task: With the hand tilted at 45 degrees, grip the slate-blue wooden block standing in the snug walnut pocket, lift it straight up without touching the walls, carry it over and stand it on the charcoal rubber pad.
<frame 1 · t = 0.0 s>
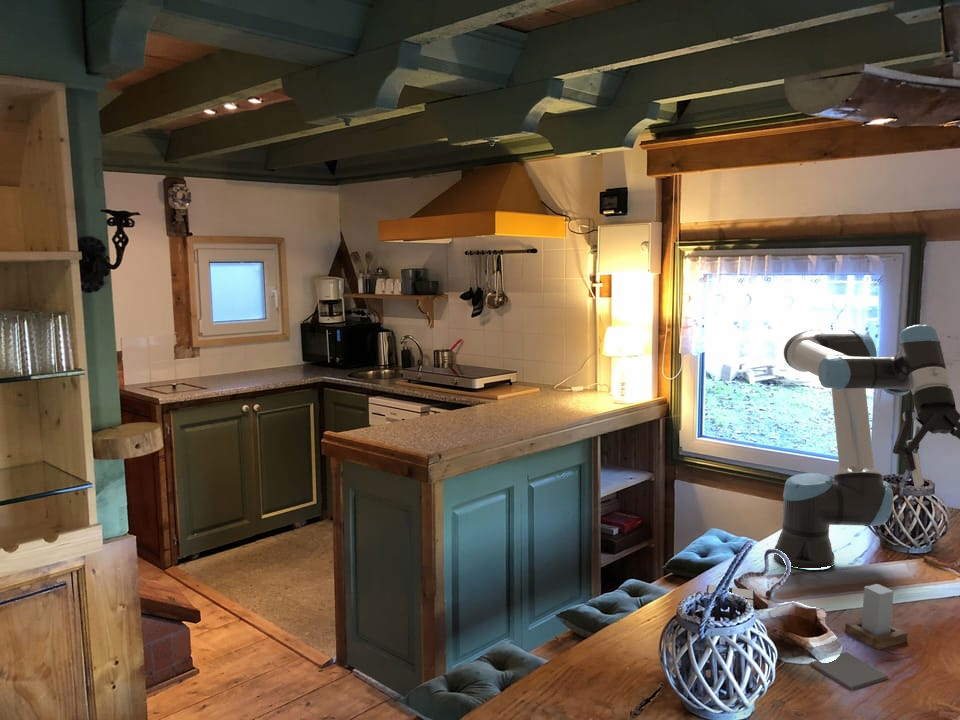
hand: (954, 486, 158), 36 cm above the table, tool tilted 35°, fingers open, 13 cm apart
puzzle cube: (728, 640, 169), on the table
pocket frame: (875, 636, 170), on the table
slate block: (877, 612, 169), in the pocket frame
rubber pad: (848, 671, 156), on the table
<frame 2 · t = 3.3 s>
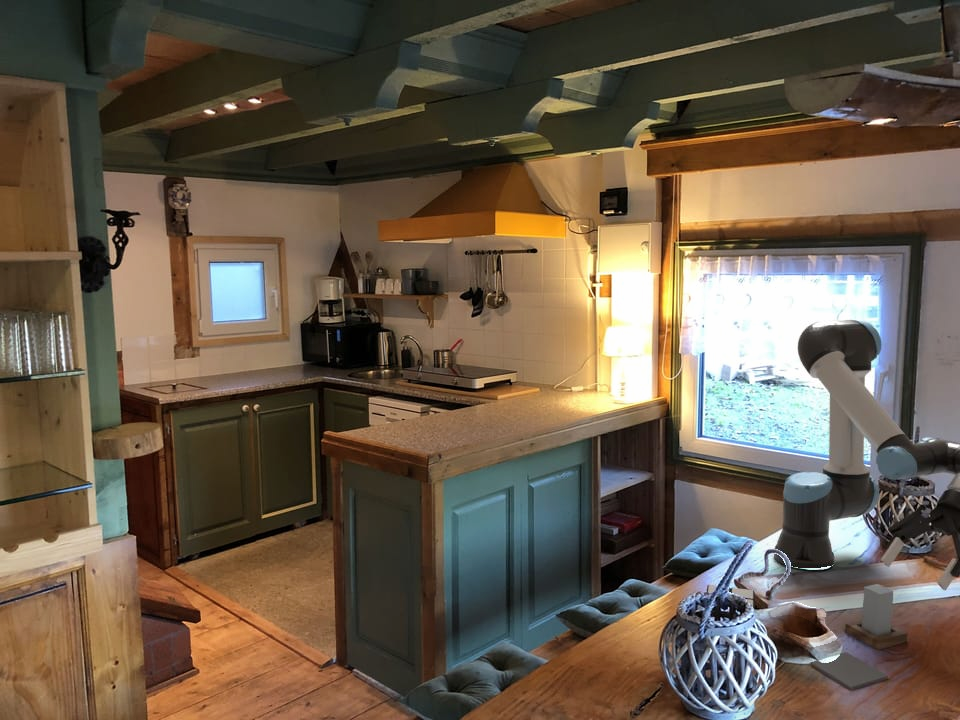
hand: (911, 574, 170), 13 cm above the table, tool tilted 45°, fingers open, 13 cm apart
nothing on the table moved.
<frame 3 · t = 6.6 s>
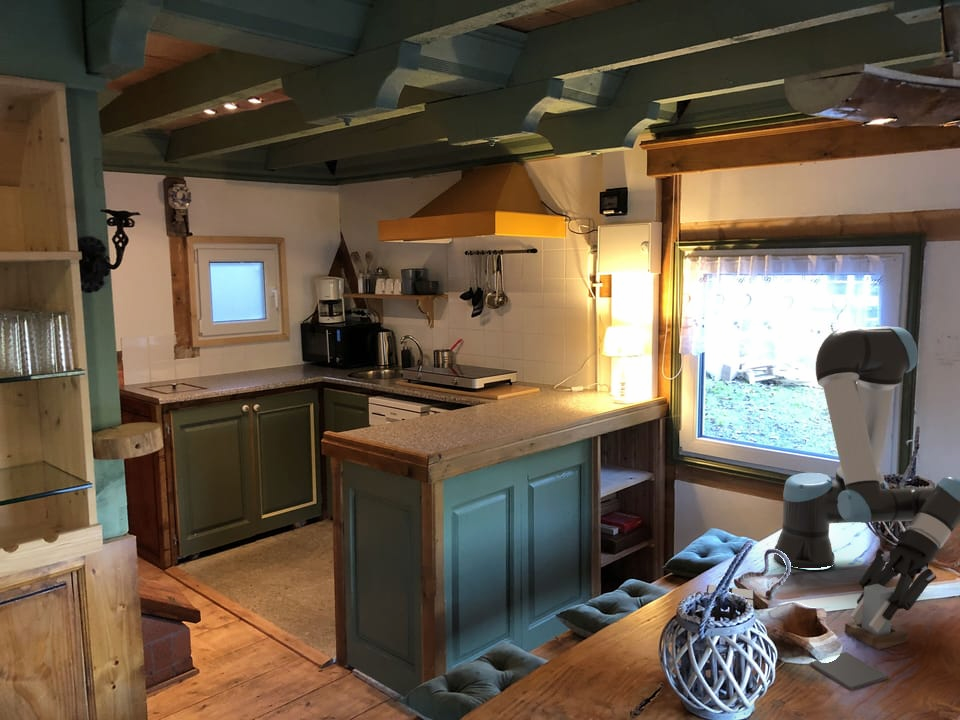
hand: (863, 623, 168), 4 cm above the table, tool tilted 45°, fingers closed on slate block, 4 cm apart
slate block: (877, 612, 169), in the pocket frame, touching gripper
everything else where it was.
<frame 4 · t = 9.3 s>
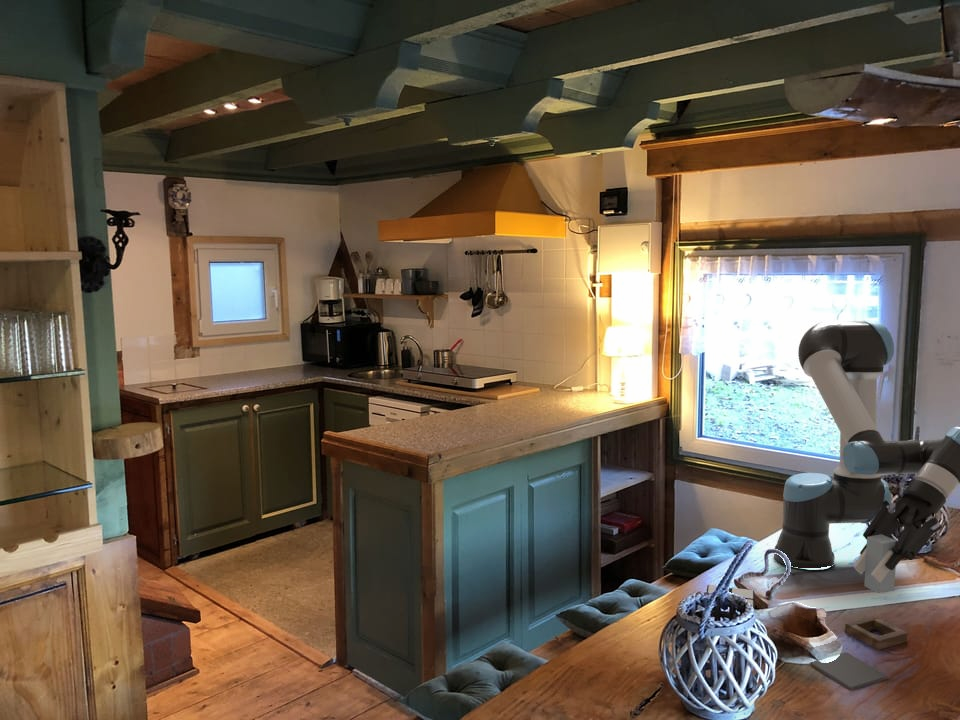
hand: (866, 574, 164), 16 cm above the table, tool tilted 45°, fingers closed on slate block, 4 cm apart
slate block: (880, 563, 165), point 18 cm above the table, touching gripper
everything else where it was.
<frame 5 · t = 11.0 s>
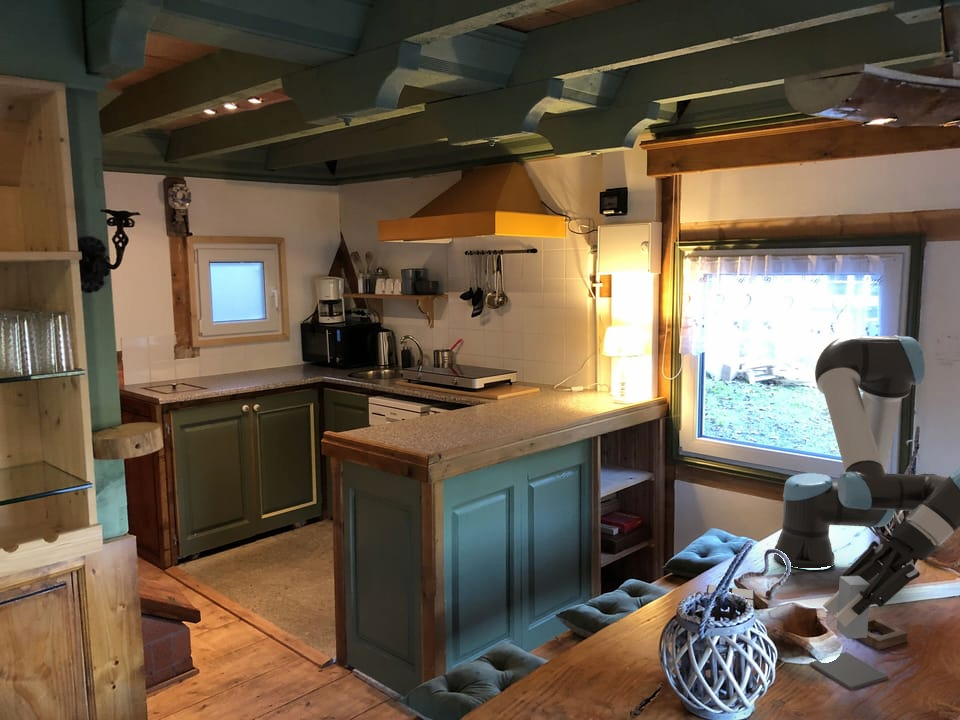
hand: (833, 616, 154), 12 cm above the table, tool tilted 45°, fingers closed on slate block, 4 cm apart
slate block: (853, 606, 153), point 14 cm above the table, touching gripper
everything else where it was.
when the fingers open (6 cm above the table, at t = 12.2 s): slate block drops 1 cm, resting on rubber pad.
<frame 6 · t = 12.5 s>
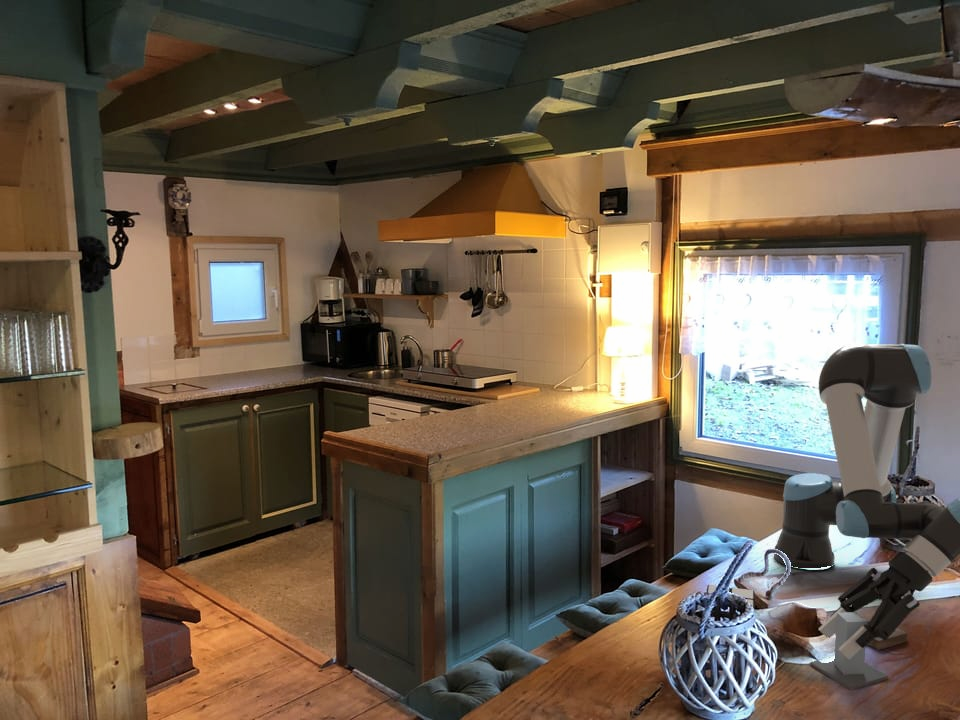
hand: (833, 643, 155), 6 cm above the table, tool tilted 45°, fingers open, 7 cm apart
slate block: (850, 643, 155), on the rubber pad, point 6 cm above the table
everything else where it was.
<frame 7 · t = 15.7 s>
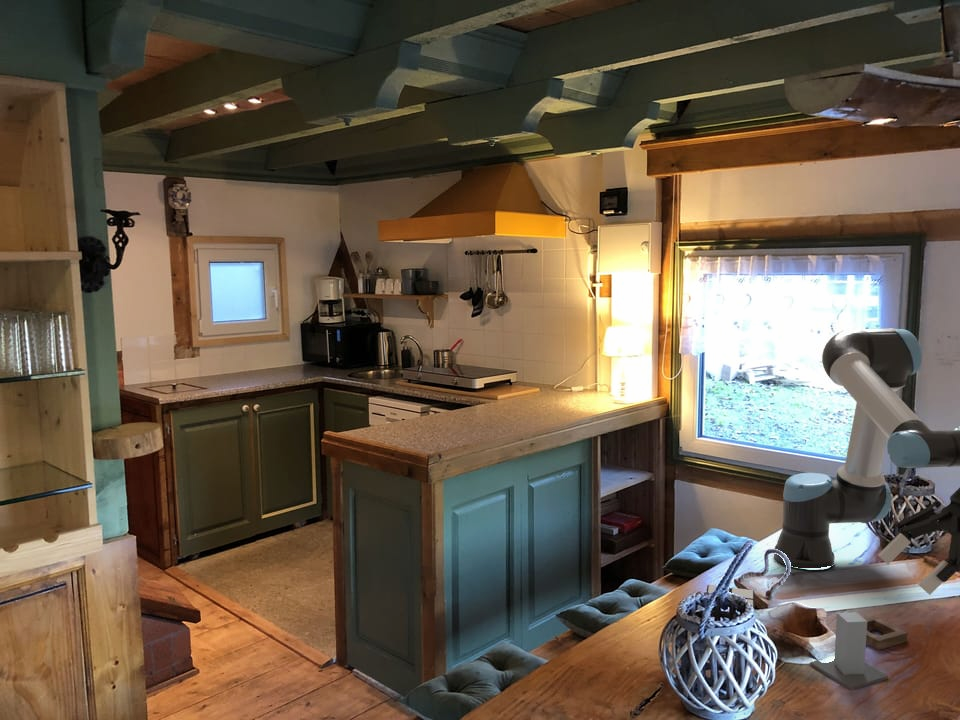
hand: (902, 574, 154), 20 cm above the table, tool tilted 45°, fingers open, 13 cm apart
nothing on the table moved.
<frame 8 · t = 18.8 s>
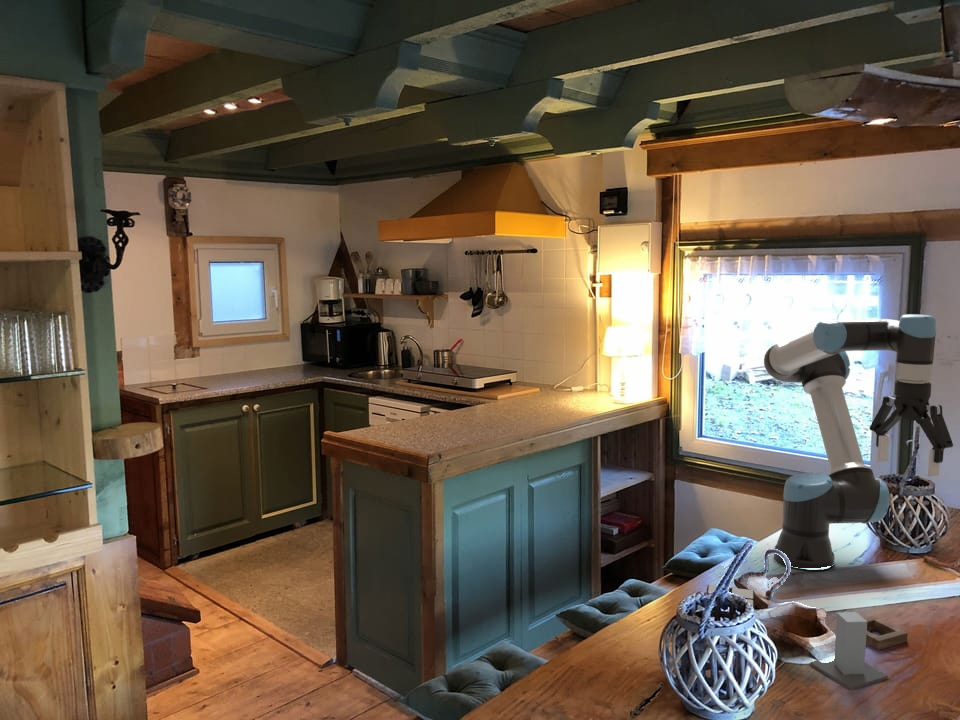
hand: (907, 468, 186), 32 cm above the table, tool pointing down, fingers open, 13 cm apart
nothing on the table moved.
at the end: slate block 0.0 cm off-centre on the rubber pad, point 6.1 cm above the rubber pad's base; slate block tilted 0°; the gripper is holding nothing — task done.
